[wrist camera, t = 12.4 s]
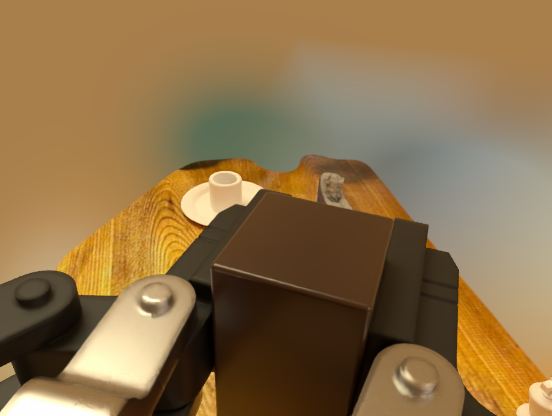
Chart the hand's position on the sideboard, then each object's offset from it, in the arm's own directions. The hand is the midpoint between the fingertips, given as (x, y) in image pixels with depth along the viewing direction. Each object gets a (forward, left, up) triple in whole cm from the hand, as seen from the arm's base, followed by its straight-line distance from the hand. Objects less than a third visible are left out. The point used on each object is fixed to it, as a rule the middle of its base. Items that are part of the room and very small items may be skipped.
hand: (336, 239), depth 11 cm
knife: (0, -3, -13) cm, 13 cm away
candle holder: (-21, +38, -26) cm, 51 cm away
